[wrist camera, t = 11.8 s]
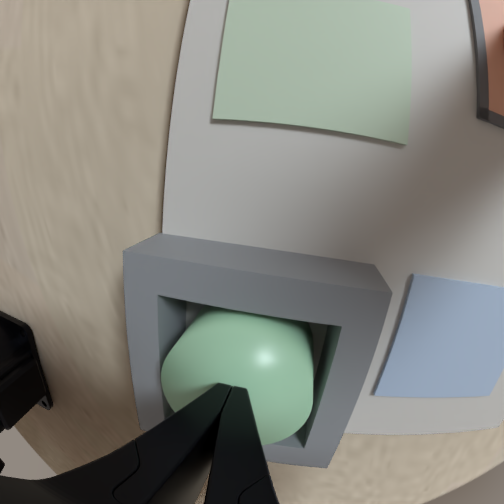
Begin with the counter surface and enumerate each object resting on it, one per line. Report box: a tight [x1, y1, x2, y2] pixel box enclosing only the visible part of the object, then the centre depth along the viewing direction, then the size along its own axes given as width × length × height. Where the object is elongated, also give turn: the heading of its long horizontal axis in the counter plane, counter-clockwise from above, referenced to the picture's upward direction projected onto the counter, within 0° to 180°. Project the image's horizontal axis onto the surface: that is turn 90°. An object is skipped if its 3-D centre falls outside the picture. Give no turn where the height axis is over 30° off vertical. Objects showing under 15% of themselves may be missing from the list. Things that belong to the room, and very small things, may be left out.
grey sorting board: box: [123, 0, 504, 468], centre depth 8 cm, size 17×20×3 cm
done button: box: [161, 305, 313, 445], centre depth 10 cm, size 4×4×3 cm
